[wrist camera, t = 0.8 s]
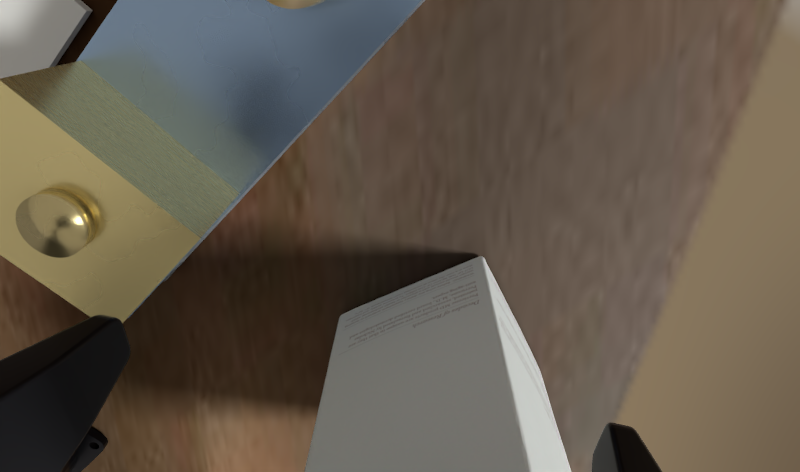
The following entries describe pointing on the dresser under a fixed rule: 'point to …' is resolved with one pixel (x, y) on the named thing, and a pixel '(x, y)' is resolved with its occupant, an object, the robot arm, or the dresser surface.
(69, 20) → the felt mat
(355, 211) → the dresser surface
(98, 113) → the yellow knobbed box
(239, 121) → the light blue box
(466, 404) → the supplement box
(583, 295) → the dresser surface
